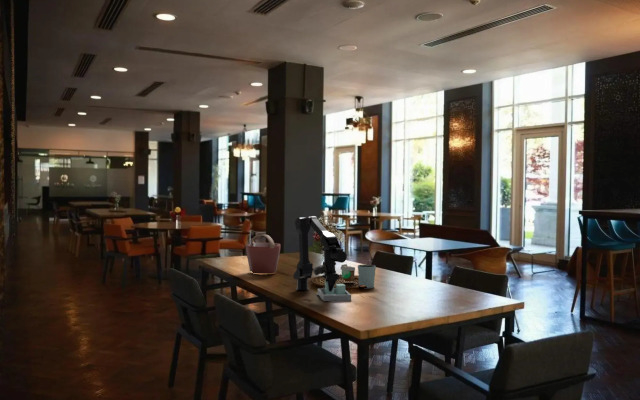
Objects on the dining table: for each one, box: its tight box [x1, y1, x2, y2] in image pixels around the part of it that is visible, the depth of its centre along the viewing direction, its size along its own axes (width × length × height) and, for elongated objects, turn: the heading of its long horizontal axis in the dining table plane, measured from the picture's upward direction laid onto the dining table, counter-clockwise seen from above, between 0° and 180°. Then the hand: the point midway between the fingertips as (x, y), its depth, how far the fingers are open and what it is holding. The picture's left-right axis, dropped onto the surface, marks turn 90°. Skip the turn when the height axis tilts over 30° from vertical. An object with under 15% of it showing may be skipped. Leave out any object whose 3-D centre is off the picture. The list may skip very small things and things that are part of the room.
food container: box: [340, 263, 356, 282], centre depth 299 cm, size 12×6×10 cm, turn 21°
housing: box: [317, 283, 352, 302], centre depth 260 cm, size 17×14×6 cm
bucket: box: [245, 234, 281, 273], centre depth 331 cm, size 24×22×25 cm
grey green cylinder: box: [357, 264, 377, 289], centre depth 288 cm, size 10×10×12 cm
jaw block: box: [324, 280, 335, 295], centre depth 260 cm, size 4×4×6 cm
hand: (329, 290), depth 260 cm, fingers closed on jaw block, 4 cm apart
